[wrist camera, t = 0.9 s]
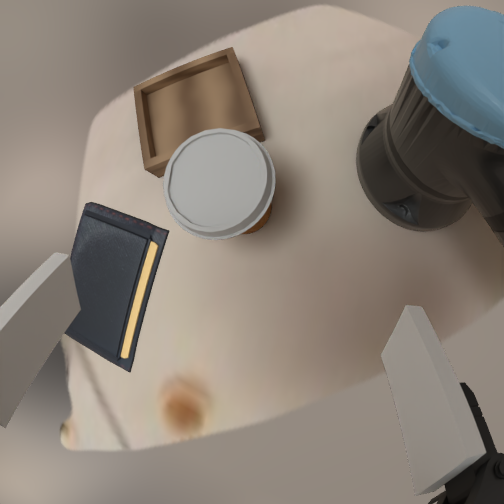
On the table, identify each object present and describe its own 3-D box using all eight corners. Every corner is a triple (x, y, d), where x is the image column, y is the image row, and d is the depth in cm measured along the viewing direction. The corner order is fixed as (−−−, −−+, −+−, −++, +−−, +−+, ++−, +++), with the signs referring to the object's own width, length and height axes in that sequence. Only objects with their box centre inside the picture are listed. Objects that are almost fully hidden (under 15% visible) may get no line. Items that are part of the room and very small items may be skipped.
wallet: (82, 197, 39) (169, 230, 36) (90, 199, 41) (176, 232, 38) (48, 326, 39) (124, 377, 36) (56, 324, 41) (132, 374, 38)
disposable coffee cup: (235, 152, 36) (203, 105, 25) (302, 196, 35) (298, 160, 23) (189, 217, 37) (137, 196, 25) (252, 265, 35) (224, 263, 24)
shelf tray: (238, 63, 37) (232, 46, 33) (265, 140, 36) (259, 127, 32) (146, 99, 39) (133, 87, 36) (158, 177, 38) (144, 169, 34)
